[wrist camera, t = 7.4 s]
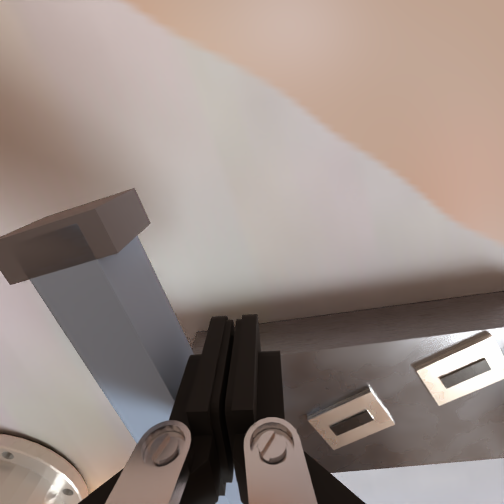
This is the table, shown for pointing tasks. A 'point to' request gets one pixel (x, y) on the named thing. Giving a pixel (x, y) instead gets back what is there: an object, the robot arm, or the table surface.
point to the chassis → (394, 382)
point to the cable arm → (108, 305)
